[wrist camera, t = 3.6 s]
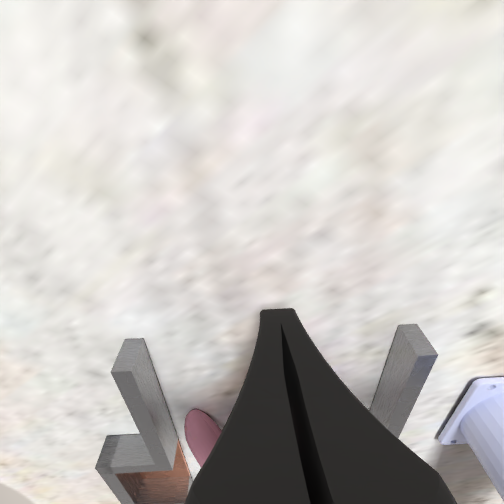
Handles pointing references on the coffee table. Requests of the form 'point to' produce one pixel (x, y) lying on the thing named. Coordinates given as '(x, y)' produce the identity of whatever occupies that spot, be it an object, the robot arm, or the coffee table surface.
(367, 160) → the coffee table surface
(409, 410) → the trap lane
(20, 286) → the coffee table surface
